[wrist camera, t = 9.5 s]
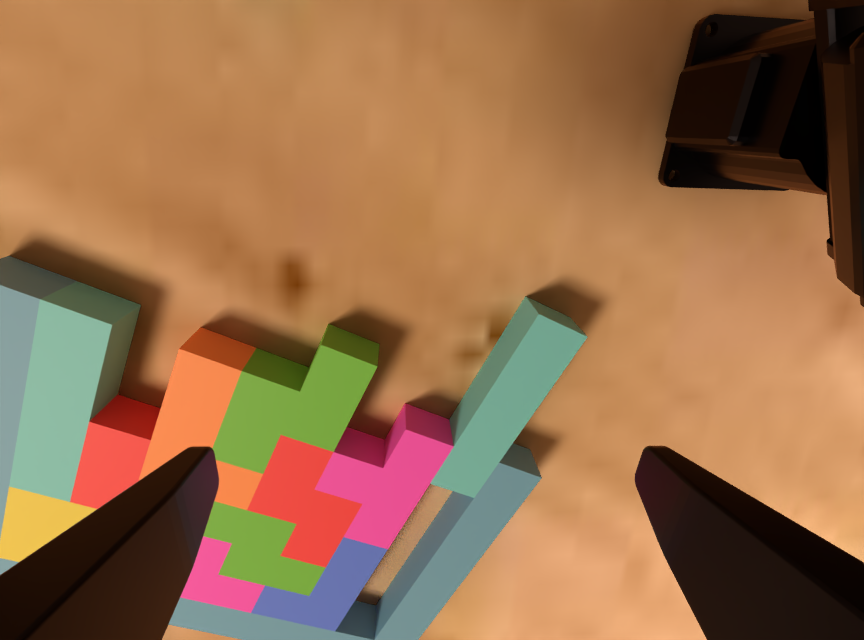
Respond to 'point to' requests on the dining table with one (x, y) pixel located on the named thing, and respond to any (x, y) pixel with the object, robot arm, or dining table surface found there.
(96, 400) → the tetris game
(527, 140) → the dining table surface
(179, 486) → the robot arm
